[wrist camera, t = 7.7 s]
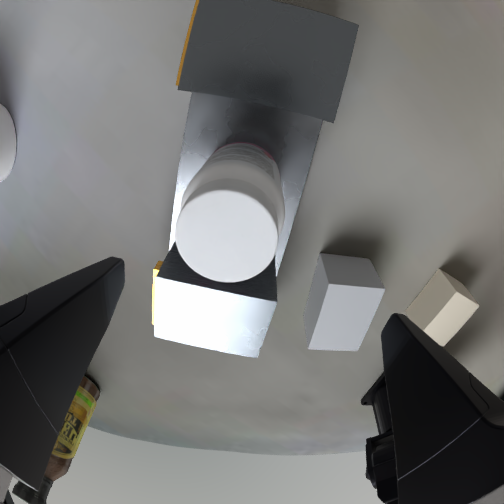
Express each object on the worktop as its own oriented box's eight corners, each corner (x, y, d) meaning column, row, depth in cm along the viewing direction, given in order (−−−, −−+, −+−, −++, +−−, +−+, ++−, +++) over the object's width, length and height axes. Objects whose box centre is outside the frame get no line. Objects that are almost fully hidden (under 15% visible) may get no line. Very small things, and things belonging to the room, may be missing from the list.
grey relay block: (347, 317, 25) (357, 351, 21) (303, 314, 25) (307, 349, 21) (368, 258, 22) (385, 288, 18) (319, 252, 22) (329, 283, 18)
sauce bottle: (105, 383, 32) (57, 519, 15) (97, 400, 35) (56, 518, 17) (62, 358, 30) (1, 488, 13) (59, 378, 33) (9, 491, 16)
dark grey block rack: (262, 315, 25) (260, 367, 20) (167, 295, 24) (147, 344, 19) (343, 32, 14) (373, 11, 9) (215, 4, 13) (196, -27, 9)
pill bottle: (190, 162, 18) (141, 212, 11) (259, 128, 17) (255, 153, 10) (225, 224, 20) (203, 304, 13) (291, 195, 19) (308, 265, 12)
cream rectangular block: (430, 321, 25) (443, 346, 22) (404, 310, 24) (417, 336, 21) (462, 282, 23) (479, 305, 20) (438, 267, 22) (456, 291, 19)
